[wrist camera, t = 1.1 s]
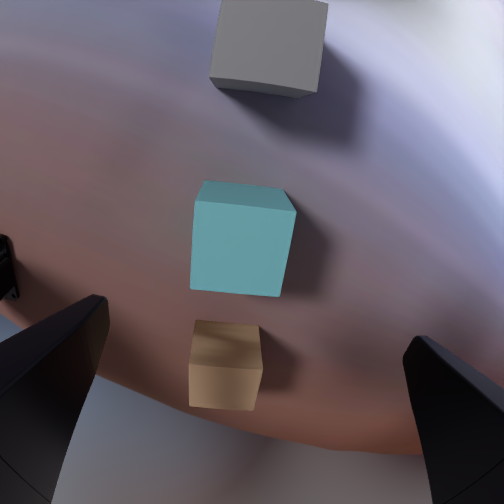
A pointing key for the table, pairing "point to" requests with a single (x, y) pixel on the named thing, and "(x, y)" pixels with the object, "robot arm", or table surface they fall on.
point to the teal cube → (241, 238)
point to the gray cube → (269, 46)
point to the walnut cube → (224, 365)
